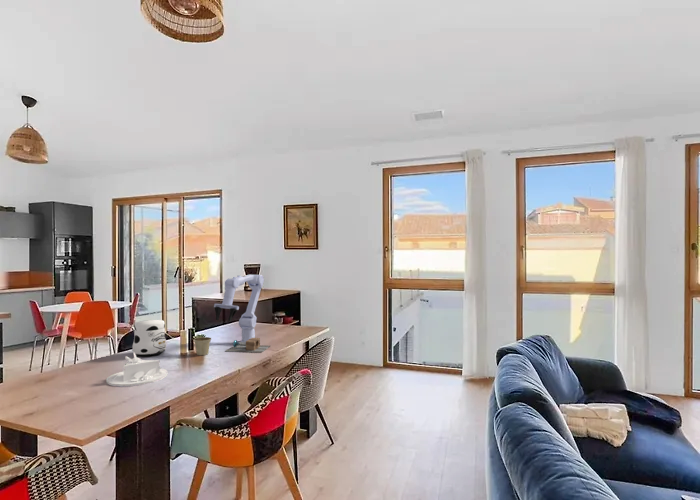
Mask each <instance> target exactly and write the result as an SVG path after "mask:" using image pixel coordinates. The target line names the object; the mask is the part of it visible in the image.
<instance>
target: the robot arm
mask: <svg viewBox="0 0 700 500" xmlns="http://www.w3.org/2000/svg"><path fill="white" fill-rule="evenodd" d="M264 281H265V279H264V275H262V274H247V275H244V276H242V275H241V274H240V275H237V276H233V277H231V278H230V277H229V278H227V279H226V280H225V281H224V294H223V298H222V303H214V305H213V308H214V311H215V320H216V321H219V319H220V316H221V312H222V310H223V309H229V316H228V322H232V319H233V318H234V316H235V315H236V314H237V312H238V311H239V309H240V306H238V305H234V304H233V302H234V298H235V293H236V289H238V288H239V287H240V286H243V285H244V284H245V283H246V284H247V285H248V286H249V288H250V289H251V293H250V297H249V299H248V304H247V306H246V310H245V312H244V313H243V314H241V317H240V318H239V319H238V326H239V327H240V329H241V341H240V342H246V341H247V340H249V339H251V338H256V331H255V330H256V329H255V327H256V326H257V320H258V319H257V318H258V317H257V316H256V314H255V312H256V308H257V304H258V301H259V298H260V295H261V292H262V291H261V290H262V288H263V286H264Z"/></svg>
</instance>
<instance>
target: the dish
mask: <svg viewBox="0 0 700 500" xmlns="http://www.w3.org/2000/svg"><path fill="white" fill-rule="evenodd" d="M132 353H133V358H131V357H128V356H127V355H125V357H124V359H125V360H126V361H127V362H125V364H124V365H123V370H122V371H120V372H116V373H114V374H111V375H109V376H108V377H107V378H106V384H107V385H110V386H113V387H121V388H123V387H136V386H137V387H138V386H143V385H148V384H153V383H155V382H159V381H161V380H163V379H165V378H166V377H167V376H168V373H169V372H168V370H167V369H164V368H162V367H160V365H161V361H160V360H156V359H155V360H154V359H151V360H150V359H141V357H137V355H136V354H135V353H134V352H133V351H132Z"/></svg>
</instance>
